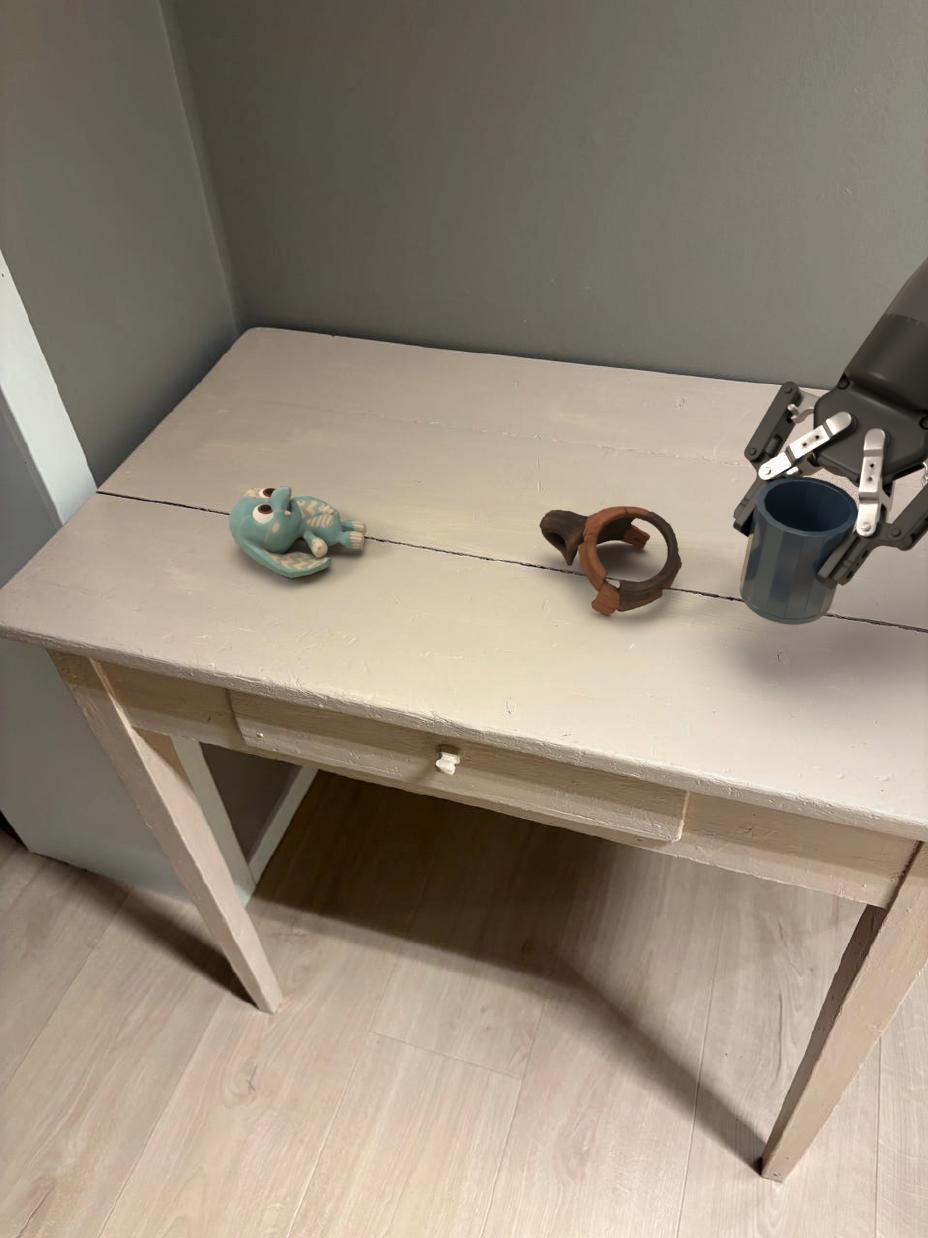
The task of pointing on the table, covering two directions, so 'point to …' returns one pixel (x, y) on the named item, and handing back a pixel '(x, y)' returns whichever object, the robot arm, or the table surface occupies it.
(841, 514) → the cup
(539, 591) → the table surface
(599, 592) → the brown broken clay pot
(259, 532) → the stuffed animal
